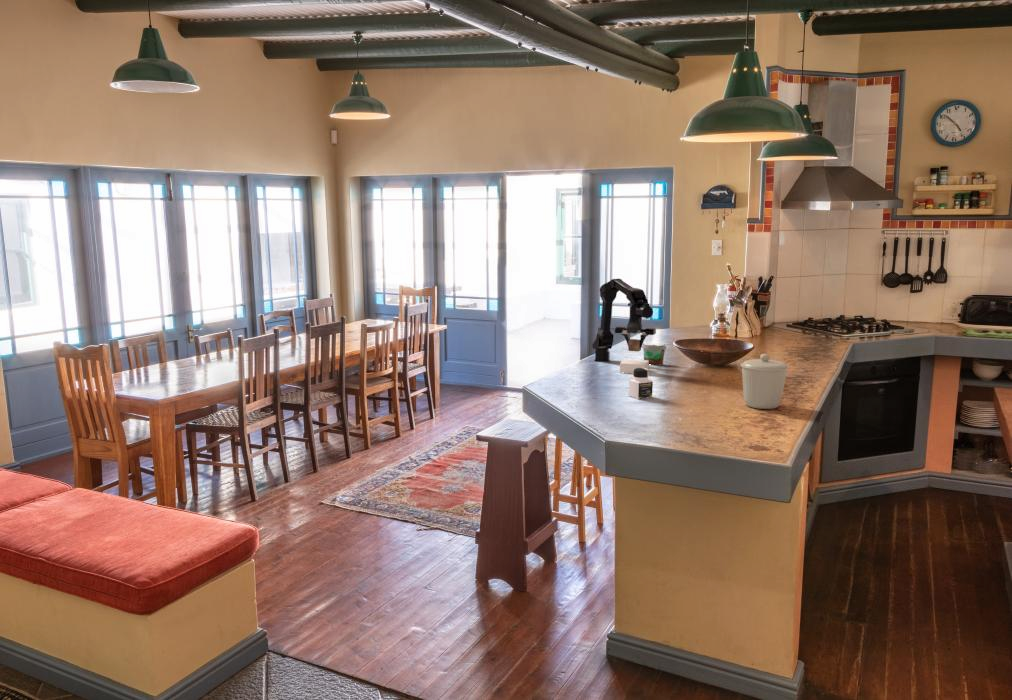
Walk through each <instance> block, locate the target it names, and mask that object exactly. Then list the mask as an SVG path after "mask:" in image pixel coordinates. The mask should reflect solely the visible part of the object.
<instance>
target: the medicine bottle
mask: <svg viewBox="0 0 1012 700" xmlns="http://www.w3.org/2000/svg"><path fill="white" fill-rule="evenodd" d="M632 375H633V376H632V377H633V378H631V379H628V397H630V396H632V397H631V398H633V397H634V398H633V399H636V398H637V399H636V400H641V399H640V398H646V399H648V398H647V397H652V398H653V384H654V383H653V380H650V379H649V368H648V369H646V368H636V369H634V374H632Z"/></svg>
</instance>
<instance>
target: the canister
mask: <svg viewBox="0 0 1012 700" xmlns="http://www.w3.org/2000/svg"><path fill="white" fill-rule="evenodd" d="M740 367H741V375H742V377H741V378H742V391H743V399H744V403H745V405H747V406H748V407H750V408H754V409H758V410H773V409H776V408H778V407H779V406H780V405H781V402H782V399H783V398H782V397H783V394H784V393H783V392H784V389H785V388H784V387H785V383H786V378H787V377H786V376H787V371H788V370H789V368H790V367H789V365H786V363H785V362H783V361H778V360H773V359H770V355H769V354H767V353H762V354H760V356H759V358H754V359H752V358H751V359H748V360H747V359H746V360H745V361H743V362H741V363H740Z"/></svg>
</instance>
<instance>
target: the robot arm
mask: <svg viewBox="0 0 1012 700" xmlns="http://www.w3.org/2000/svg"><path fill="white" fill-rule="evenodd" d="M618 292H620V293H623V294H624V295H625V297H626V300H628V301H629V303H628V304H627V306H628V307H629V318H628V323H627V325H626V326H625V325H618V326H616V327H614V334H621V336H623V337H624V338H625V341H626V344H627V345H628V344H629V340H630V339H631V334H637V333H639V334H640V336H639V337H640V339H639V340H640V349H641V350H642V345H643V343H644V342H645V340H646V337H648V336H654V335H656V334H657V330H656V328H655V327H646V328H643V323H642V321H643V318H644V319H650V318H652V316H653V314H654V309H653V308H652V306H650V304H651V303H649V302H648V301H649V300H648V299H647V297H646V293H645V291H644V289H642V288H638V287H633V286H632V285H630V284H628V283H626V282H625V281H624V280H622V279H621V278H612V279H610V281H608V282H606V283H605V282H604V284H602V285H600V287H599V297H600V300H601V301H602V304H601V305H602V307H601V317H600V329H599V330H598V331H597V334H596V337H595V340H594V341H593V343H592V349H594V350H595V351H594V352H595V355H594V356H595V358H594V359H593V361H594V362H603V361H607V360H608V361H610V356H611V355H610V353H611V352H610V350H611V349H612V348H613V343H614V336H615V335H614V334H613V332H612V331H611V324H612V323H611V322H612V314H613V302H614V301H615V299H616V298H617V295H618ZM608 361H607V362H608Z"/></svg>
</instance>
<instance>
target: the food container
mask: <svg viewBox="0 0 1012 700" xmlns="http://www.w3.org/2000/svg"><path fill="white" fill-rule="evenodd" d="M641 349H642V351H643V360H649V364H651V365H650V366H660V365H659V364H662V365H663V364H664V357H665V350H667V346H666V344H664V345H663V344H662V345H656V344H645V343H644V342H643V345H642V347H641Z"/></svg>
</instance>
